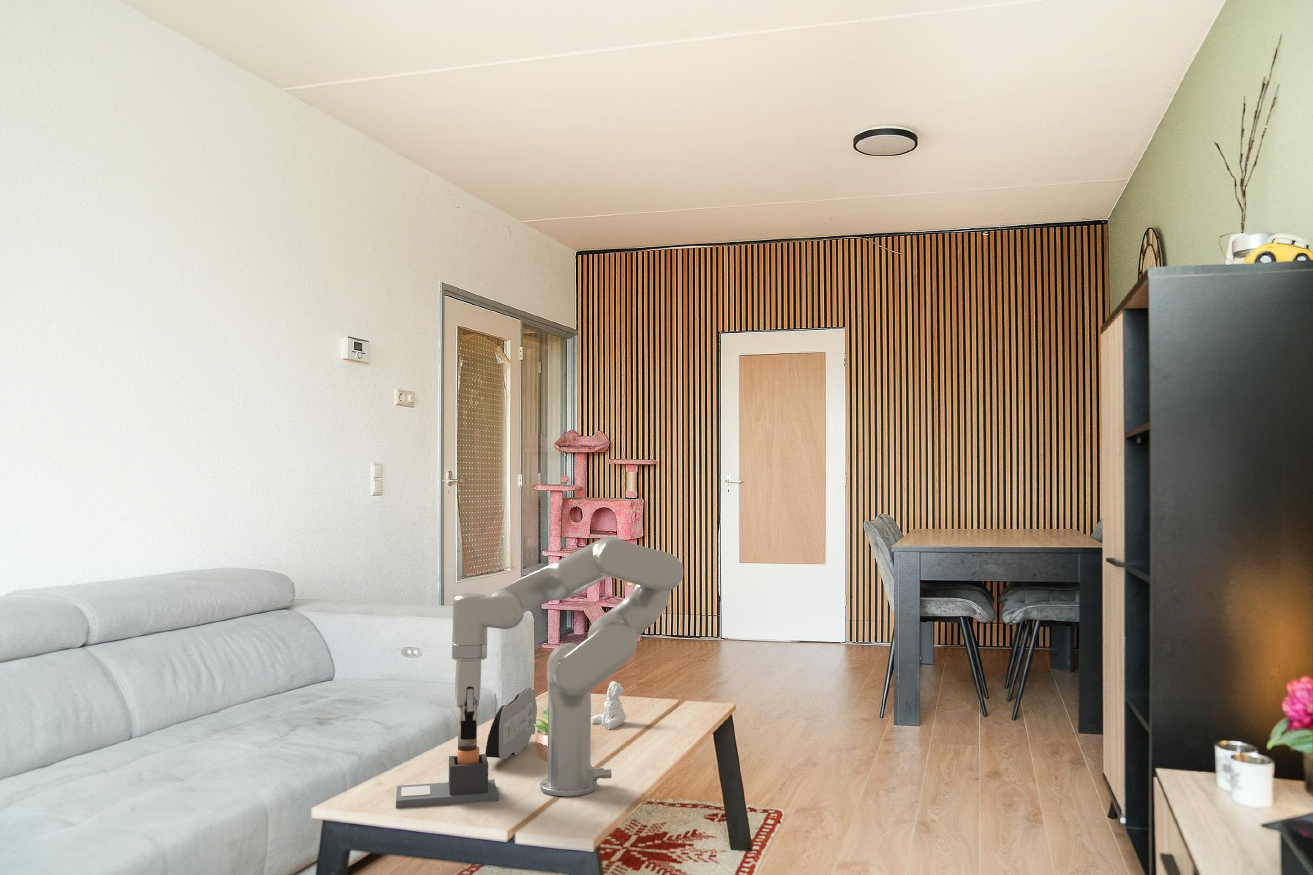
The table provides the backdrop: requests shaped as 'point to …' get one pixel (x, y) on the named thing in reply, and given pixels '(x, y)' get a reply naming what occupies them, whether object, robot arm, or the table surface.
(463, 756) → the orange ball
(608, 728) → the white creature statuette
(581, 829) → the table surface
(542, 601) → the robot arm
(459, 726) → the beige wooden cylinder
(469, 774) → the board
